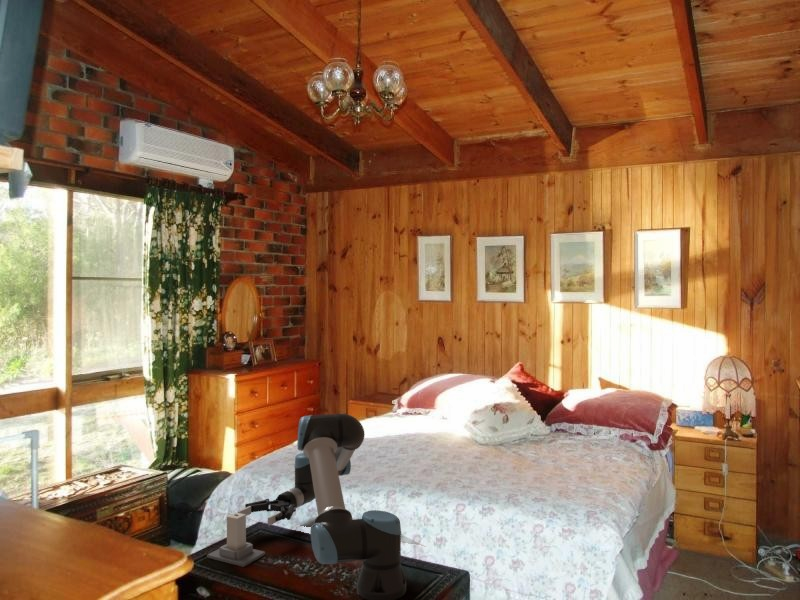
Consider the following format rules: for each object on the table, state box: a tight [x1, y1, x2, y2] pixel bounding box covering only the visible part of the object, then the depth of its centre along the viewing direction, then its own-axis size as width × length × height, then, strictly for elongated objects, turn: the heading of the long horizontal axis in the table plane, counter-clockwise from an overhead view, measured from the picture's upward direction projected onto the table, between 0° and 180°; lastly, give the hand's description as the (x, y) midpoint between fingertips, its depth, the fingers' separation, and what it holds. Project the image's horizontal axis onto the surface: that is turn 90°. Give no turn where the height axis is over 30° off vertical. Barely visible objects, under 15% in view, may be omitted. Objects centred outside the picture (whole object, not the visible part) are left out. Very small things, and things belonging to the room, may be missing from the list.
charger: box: [226, 511, 247, 551], centre depth 218 cm, size 4×4×13 cm
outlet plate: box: [206, 541, 266, 568], centre depth 218 cm, size 16×11×4 cm
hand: (253, 518), depth 226 cm, fingers open, 13 cm apart
